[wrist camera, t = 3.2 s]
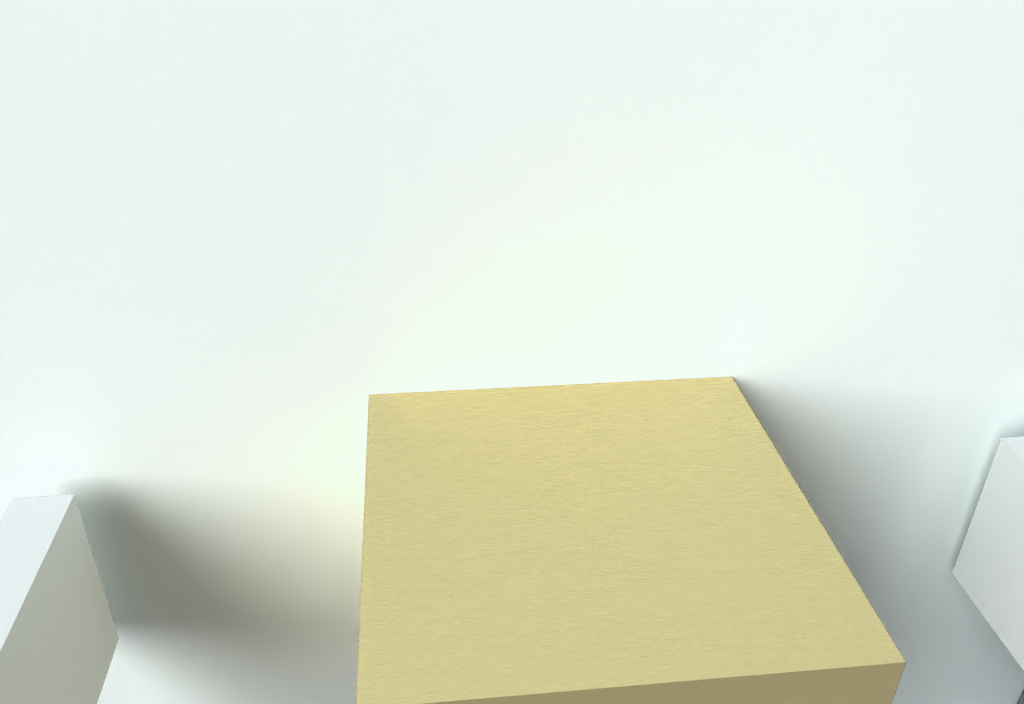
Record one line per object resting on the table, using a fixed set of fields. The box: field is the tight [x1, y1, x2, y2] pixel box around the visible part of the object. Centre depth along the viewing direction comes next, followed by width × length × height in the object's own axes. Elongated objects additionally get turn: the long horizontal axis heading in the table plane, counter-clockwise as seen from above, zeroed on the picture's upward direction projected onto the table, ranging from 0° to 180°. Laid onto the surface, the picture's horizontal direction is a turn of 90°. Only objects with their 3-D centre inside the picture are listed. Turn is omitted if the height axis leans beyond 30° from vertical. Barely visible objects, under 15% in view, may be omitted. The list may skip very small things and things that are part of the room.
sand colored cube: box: [356, 377, 906, 704], centre depth 11 cm, size 5×5×5 cm
